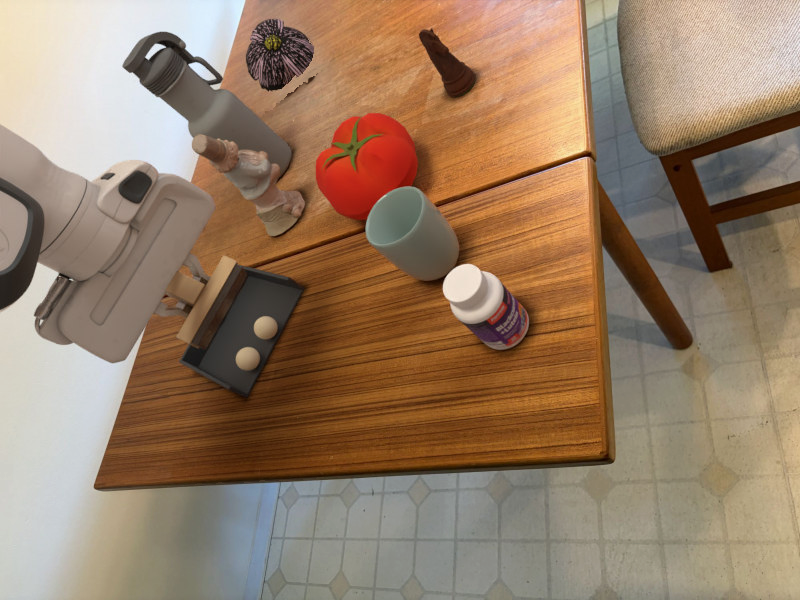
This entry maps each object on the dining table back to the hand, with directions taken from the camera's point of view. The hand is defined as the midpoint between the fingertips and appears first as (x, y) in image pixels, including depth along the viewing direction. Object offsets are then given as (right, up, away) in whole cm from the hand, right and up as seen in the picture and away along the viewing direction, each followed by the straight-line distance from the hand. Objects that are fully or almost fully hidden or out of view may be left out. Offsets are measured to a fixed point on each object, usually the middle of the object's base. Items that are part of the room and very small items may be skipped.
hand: (201, 299), depth 63 cm
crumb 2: (+4, -4, +14) cm, 15 cm away
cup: (+27, +4, +4) cm, 28 cm away
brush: (+3, -1, -2) cm, 4 cm away
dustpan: (-4, -4, +23) cm, 23 cm away
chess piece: (+31, +31, +17) cm, 47 cm away
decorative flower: (+2, +46, +50) cm, 67 cm away
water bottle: (0, +24, +38) cm, 45 cm away
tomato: (+21, +16, +16) cm, 31 cm away
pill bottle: (+34, -3, -6) cm, 34 cm away
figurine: (+5, +14, +28) cm, 31 cm away
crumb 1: (+2, -8, +13) cm, 15 cm away
